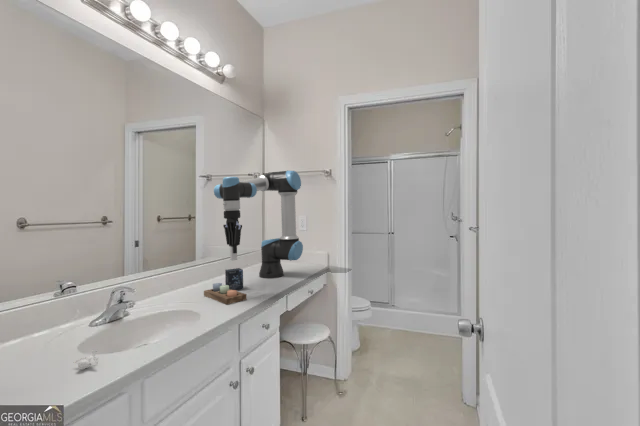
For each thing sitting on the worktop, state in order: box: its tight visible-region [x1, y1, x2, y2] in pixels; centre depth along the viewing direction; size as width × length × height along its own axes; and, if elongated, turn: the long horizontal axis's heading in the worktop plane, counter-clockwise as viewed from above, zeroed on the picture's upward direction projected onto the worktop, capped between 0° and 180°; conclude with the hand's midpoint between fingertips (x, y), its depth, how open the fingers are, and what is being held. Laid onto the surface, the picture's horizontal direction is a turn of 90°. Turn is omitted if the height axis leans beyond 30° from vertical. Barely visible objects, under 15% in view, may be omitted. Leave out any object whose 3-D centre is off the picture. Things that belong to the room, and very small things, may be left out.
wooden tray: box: [203, 288, 247, 305], centre depth 149 cm, size 10×22×2 cm, turn 45°
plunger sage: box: [220, 284, 229, 294], centre depth 149 cm, size 4×4×4 cm
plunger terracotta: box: [227, 290, 238, 297], centre depth 144 cm, size 4×4×4 cm
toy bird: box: [73, 349, 99, 370], centre depth 83 cm, size 8×5×5 cm, turn 78°
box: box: [224, 267, 244, 291], centre depth 164 cm, size 8×6×11 cm
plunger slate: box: [212, 282, 223, 292], centre depth 154 cm, size 4×4×4 cm
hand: (233, 259), depth 148 cm, fingers closed
